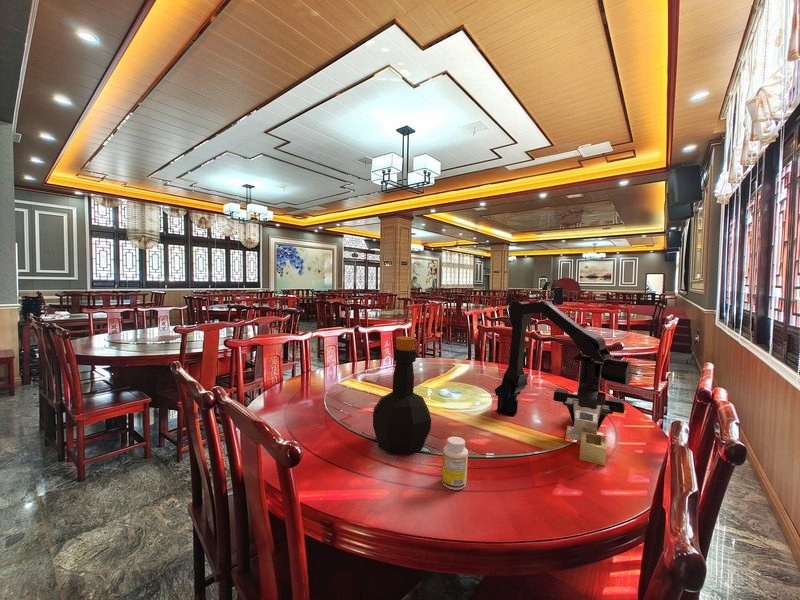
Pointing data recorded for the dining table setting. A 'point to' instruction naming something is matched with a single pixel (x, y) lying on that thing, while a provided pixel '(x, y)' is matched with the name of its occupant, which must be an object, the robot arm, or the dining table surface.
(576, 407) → the teacup with lid
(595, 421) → the link
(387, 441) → the bottle
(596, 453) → the link
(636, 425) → the dining table surface
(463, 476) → the supplement bottle
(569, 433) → the keeper
